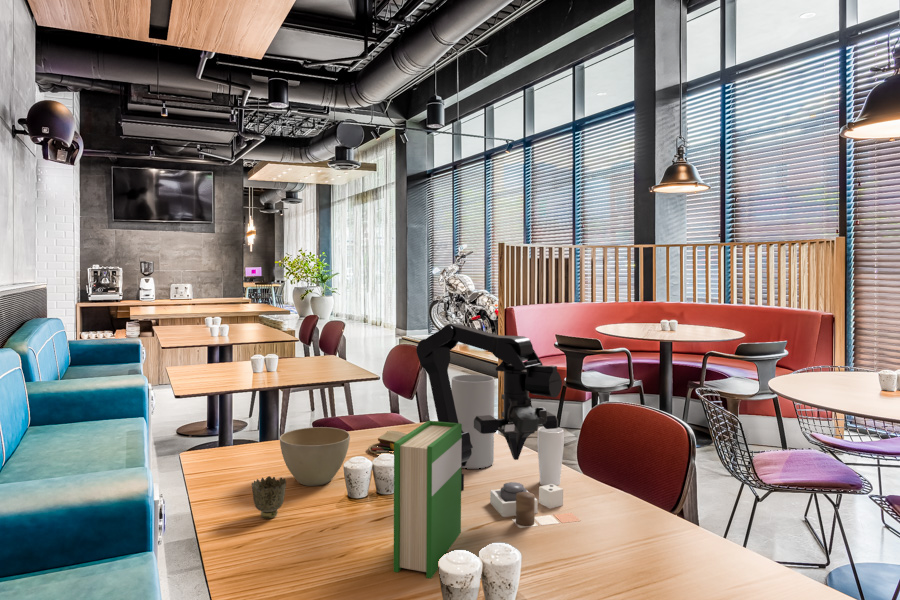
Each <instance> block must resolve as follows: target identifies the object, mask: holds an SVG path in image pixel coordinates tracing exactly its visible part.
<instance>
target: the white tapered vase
mask: <svg viewBox="0 0 900 600" xmlns="http://www.w3.org/2000/svg"><path fill="white" fill-rule="evenodd" d="M564 437H565V434H564V429H563V428H562V427H559V426H558V428H556V429H545V428H544V426H543V425H542V426H540V427H539V426H538V430H537V441H536V442H537V443H536V445H537V459H538V470H539V471H538V472H539V474H538V475H539V484H540V485H541V486H545V485H549V484H554V485H556V486H560V485H561V477H562V476H561V474H562V464H563V457H564V444H565V441H564V440H565V438H564Z"/></svg>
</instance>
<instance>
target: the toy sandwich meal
mask: <svg viewBox="0 0 900 600" xmlns="http://www.w3.org/2000/svg"><path fill="white" fill-rule="evenodd" d="M405 435H407V433H405V432H402V431H396V430H387V431H386V432H385V433H383V434H382V435H380V436H379V437H378V438H377V441H378V442H375V443H373V444H371V445H369V446H368V447H367V450H368V451H369V452H370V453H371V452H372V453H374V454H373V455H375V454H381V453H390V454H394V452H393V453H392V452H389V451H394V443H395V442H396V441H398V440H399V439H401V438H402V437H404V436H405ZM377 446H378V447H377ZM372 453H371V454H372Z"/></svg>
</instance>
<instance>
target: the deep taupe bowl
mask: <svg viewBox="0 0 900 600" xmlns="http://www.w3.org/2000/svg"><path fill="white" fill-rule="evenodd" d="M279 436H280V437H279V446H280V450H281V455H282V457H283V458H282V459H283V461H284V464H285V466H286V468H287V469H288V471H289V472H290V474H291V476H293V477H294V479H295V480H296V481H297V482H298V483H299V484H300V485H303V486H306V487H315V486H317V487H318V486H322V485H326V484H328V483H330V482H331V481H332V480H333V478H334V477H335V476H336V474H337V473H339V470H340V469H341V467H342V465H343V463H344V461H345V459H346V457H347V454H348V450H349V447H350V446H349V445H350V441H351V440H350V439H351V437H350V436H351V434H350V433H349V432H348V431H346V430H345V429H341V428H336V427H327V426H324V427H323V426H320V427H319V426H317V427H304V428H297V429H293V430H289V431H286V432H284V433H283V434H281V435H279Z"/></svg>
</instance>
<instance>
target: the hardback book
mask: <svg viewBox="0 0 900 600" xmlns="http://www.w3.org/2000/svg"><path fill="white" fill-rule="evenodd" d="M461 450H462V424H460V423H449V422H439V421H438V420H437V421H436V420H427V421H425V422H424V423H423V424H421V425H419V426H418V427H416V428H415V429H413V430H412V431H410V432H409V433H406V435H405V436H404V437H402V438H401V439H399V440H398V441H396V442H395V443H394V456H393V573H400V571H401V570H402V569H407V570H413V571H418V572H423V573H426V574H425V575H426V579H432V578H433V577H434V575H435V574H436V572H438V570H439V568H438V561H439V559H440V558H441V557H442V556H443V555H444V554H446V553H448V552H449V550H450V548H451V547H452V545H453V544H454V543H455V541H456V540H457V539H458V538H459V536H460V534H461V533H462V530H461V529H462V491H461V469H462V468H461Z"/></svg>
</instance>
